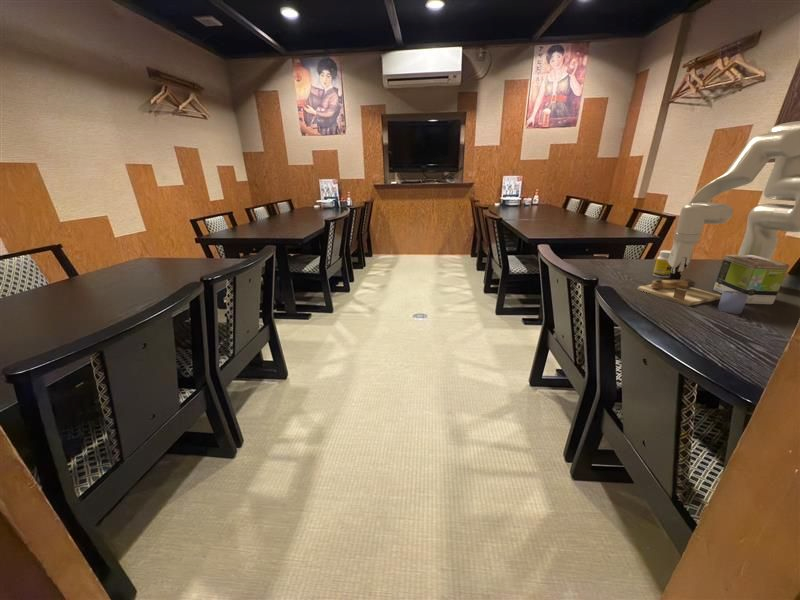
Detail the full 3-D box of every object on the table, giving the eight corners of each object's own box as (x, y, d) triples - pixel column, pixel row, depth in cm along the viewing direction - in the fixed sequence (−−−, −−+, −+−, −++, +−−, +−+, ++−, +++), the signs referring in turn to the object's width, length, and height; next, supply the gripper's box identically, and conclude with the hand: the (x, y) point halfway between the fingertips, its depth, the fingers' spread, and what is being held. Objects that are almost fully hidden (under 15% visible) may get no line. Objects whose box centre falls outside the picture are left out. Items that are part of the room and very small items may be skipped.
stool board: (667, 283, 136) (670, 273, 134) (721, 298, 119) (725, 286, 118) (637, 289, 131) (640, 278, 130) (688, 306, 114) (692, 293, 113)
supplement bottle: (665, 278, 142) (673, 254, 138) (649, 275, 147) (656, 251, 143) (672, 276, 145) (680, 251, 141) (656, 273, 150) (663, 249, 146)
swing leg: (686, 284, 129) (688, 277, 128) (693, 287, 126) (696, 280, 125) (648, 285, 129) (650, 278, 128) (655, 288, 126) (657, 281, 125)
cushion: (724, 305, 114) (730, 289, 111) (745, 312, 108) (752, 295, 106) (713, 308, 112) (718, 291, 110) (734, 315, 107) (740, 297, 104)
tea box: (774, 305, 113) (791, 264, 107) (740, 303, 115) (755, 264, 109) (741, 290, 126) (755, 253, 121) (711, 289, 128) (724, 253, 123)
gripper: (669, 234, 131) (658, 276, 138) (678, 240, 119) (665, 287, 126) (693, 234, 128) (680, 278, 135) (705, 242, 116) (690, 289, 123)
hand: (673, 282), depth 130 cm, fingers closed
